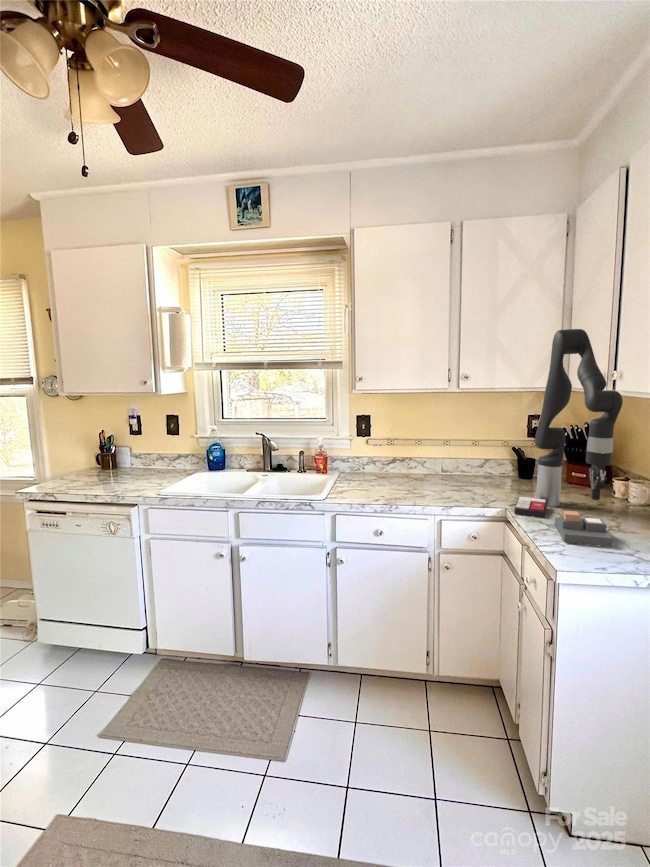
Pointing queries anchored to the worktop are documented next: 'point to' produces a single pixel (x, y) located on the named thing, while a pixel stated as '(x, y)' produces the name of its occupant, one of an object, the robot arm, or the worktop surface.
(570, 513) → the peach key
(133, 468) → the worktop surface
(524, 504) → the calculator
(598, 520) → the cream key
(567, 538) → the push button base
